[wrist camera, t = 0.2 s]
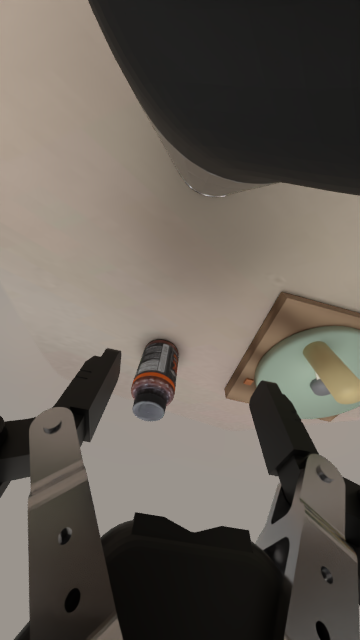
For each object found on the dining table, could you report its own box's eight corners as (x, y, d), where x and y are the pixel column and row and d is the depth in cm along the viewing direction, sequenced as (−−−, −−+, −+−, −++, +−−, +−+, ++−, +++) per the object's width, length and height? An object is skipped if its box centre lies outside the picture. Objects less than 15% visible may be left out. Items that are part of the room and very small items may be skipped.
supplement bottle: (180, 364, 34) (174, 427, 25) (148, 364, 35) (130, 426, 25) (177, 337, 31) (169, 397, 22) (141, 338, 32) (118, 397, 22)
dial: (379, 395, 32) (437, 455, 24) (268, 416, 37) (287, 472, 29) (383, 306, 24) (472, 356, 16) (240, 349, 29) (257, 402, 21)
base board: (281, 291, 26) (288, 299, 24) (417, 328, 28) (434, 338, 26) (224, 389, 37) (226, 399, 35) (324, 412, 38) (330, 423, 37)
